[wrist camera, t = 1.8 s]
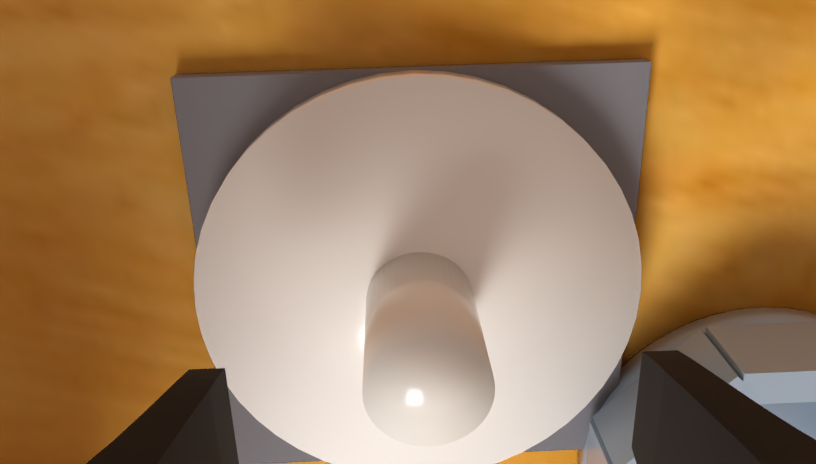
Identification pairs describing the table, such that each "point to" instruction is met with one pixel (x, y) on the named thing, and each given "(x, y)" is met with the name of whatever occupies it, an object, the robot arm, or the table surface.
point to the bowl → (723, 373)
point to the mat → (282, 90)
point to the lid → (417, 272)
